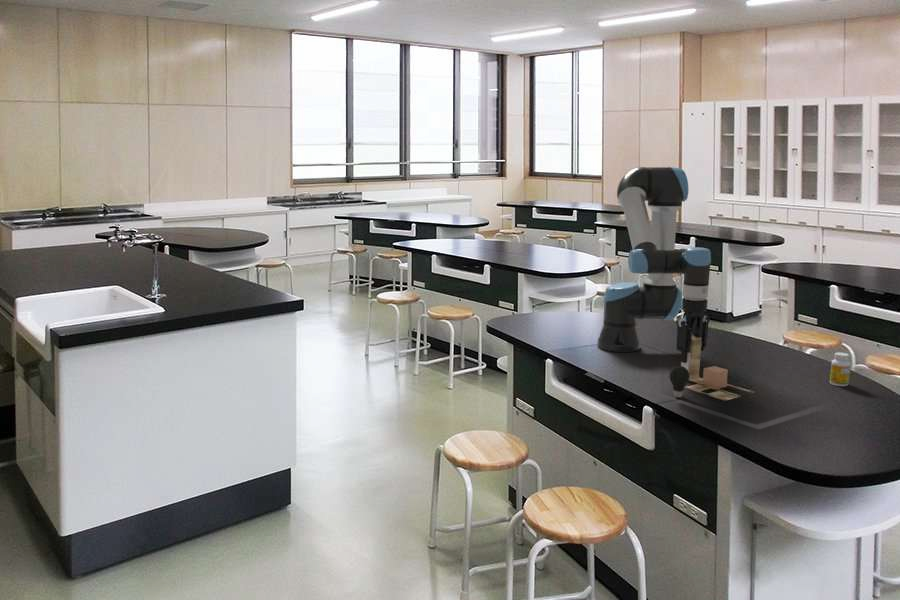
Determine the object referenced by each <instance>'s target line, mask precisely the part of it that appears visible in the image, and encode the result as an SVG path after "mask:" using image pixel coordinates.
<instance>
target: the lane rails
mask: <svg viewBox="0 0 900 600" xmlns="http://www.w3.org/2000/svg"><path fill="white" fill-rule="evenodd" d="M696 384H698V385H701V386H704V387H707V388H710V389H712V390H715V391H720V392H724V393H727V394H730V395H734V396H737V398H740V397H742V395H740V394H737V393H734V392H730V391H727V390H724V389H722V388H719V389H717V388H714V387H711V386H707V385H704V384H701V383H696ZM727 387H731V388H734V389H738V390H741V391H744V392H747V393H751V394H755V391H752V390H750V389H746V388H742V387H739V386H737V385H732V384H728V383H727ZM684 389H687V390H689V391H693V392H696V393H700V394H703V395H704V396H709V397H713V398H715V399H719V400H722V401H725V402H727V401H728V400H727V399H724V398H721V397H717V396H714V395H711V394H708V392H704V391H698V390H695V389H692V388H689V387H687V386H685V387H684Z"/></svg>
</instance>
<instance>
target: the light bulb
mask: <svg viewBox="0 0 900 600" xmlns="http://www.w3.org/2000/svg"><path fill="white" fill-rule="evenodd" d="M689 377H690V376H689V372H688V370H687V369H686V368H685V367H683V366H681V365H676V366H673V367H672V369H671V370H670V372H669V380H670V383H671V384H672V388H673V397H675V398H676V400H680V398H682V397H683V393H684V390H685V388H684V387H686V385H687V384H688V382H689V381H690V380H689Z"/></svg>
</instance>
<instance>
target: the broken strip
mask: <svg viewBox="0 0 900 600" xmlns="http://www.w3.org/2000/svg"><path fill="white" fill-rule="evenodd" d="M686 387H689V388H692V389H695V390H698V391H701V392H703V391H705V390H710V389H711V388H708V387H705V386H702V385H698V384H697V383H696V384H692V385H688V386H686ZM707 393H708V392H707ZM708 394H711V395H714V396H717V397H721V398H724V399H727V400H726V401H729V400H733V399H734V400H735V399H738V396H734V395H731V394H728V393H725V392H721V391H718V390H715V391H713V392H710V393H708Z"/></svg>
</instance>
